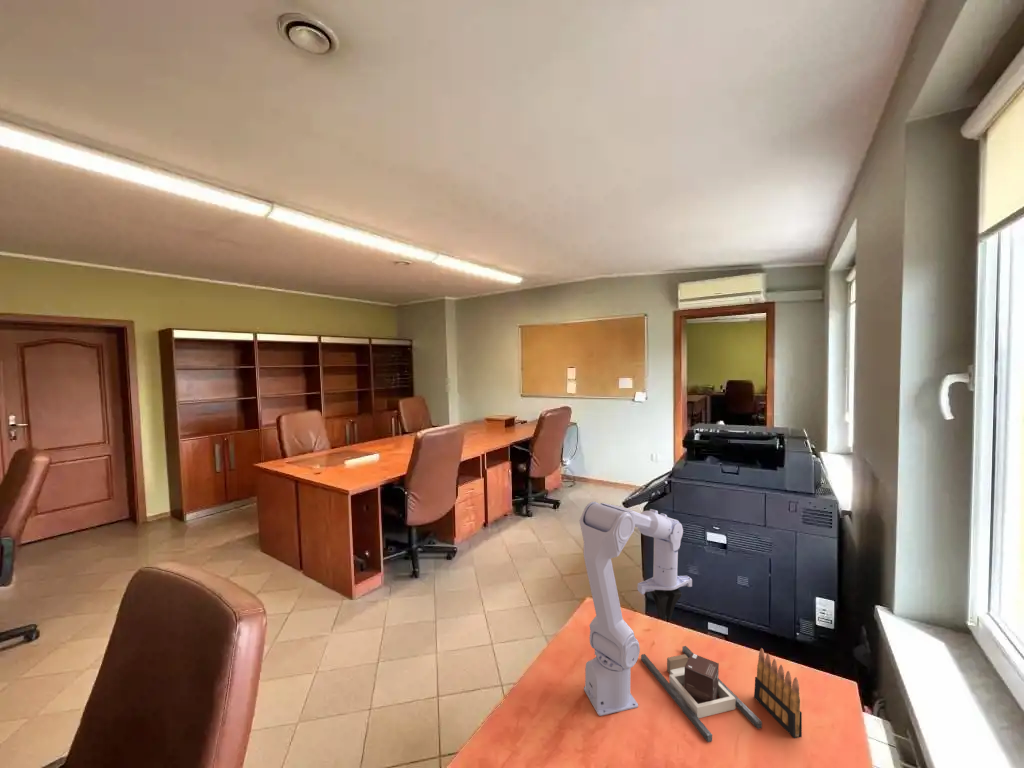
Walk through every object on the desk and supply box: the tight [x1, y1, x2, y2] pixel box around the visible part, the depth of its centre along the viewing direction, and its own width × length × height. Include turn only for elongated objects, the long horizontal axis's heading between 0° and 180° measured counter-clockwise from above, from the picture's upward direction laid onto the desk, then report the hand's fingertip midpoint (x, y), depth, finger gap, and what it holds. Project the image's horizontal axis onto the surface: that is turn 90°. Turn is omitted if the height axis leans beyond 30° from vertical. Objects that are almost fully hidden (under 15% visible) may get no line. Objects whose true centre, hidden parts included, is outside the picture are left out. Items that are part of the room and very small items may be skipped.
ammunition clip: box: [753, 647, 803, 739], centre depth 89 cm, size 11×2×12 cm, turn 11°
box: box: [683, 653, 720, 704], centre depth 95 cm, size 6×6×7 cm
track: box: [640, 645, 763, 743], centre depth 97 cm, size 13×24×2 cm, turn 15°
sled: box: [666, 653, 736, 719], centre depth 97 cm, size 10×14×3 cm
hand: (664, 616), depth 108 cm, fingers closed
